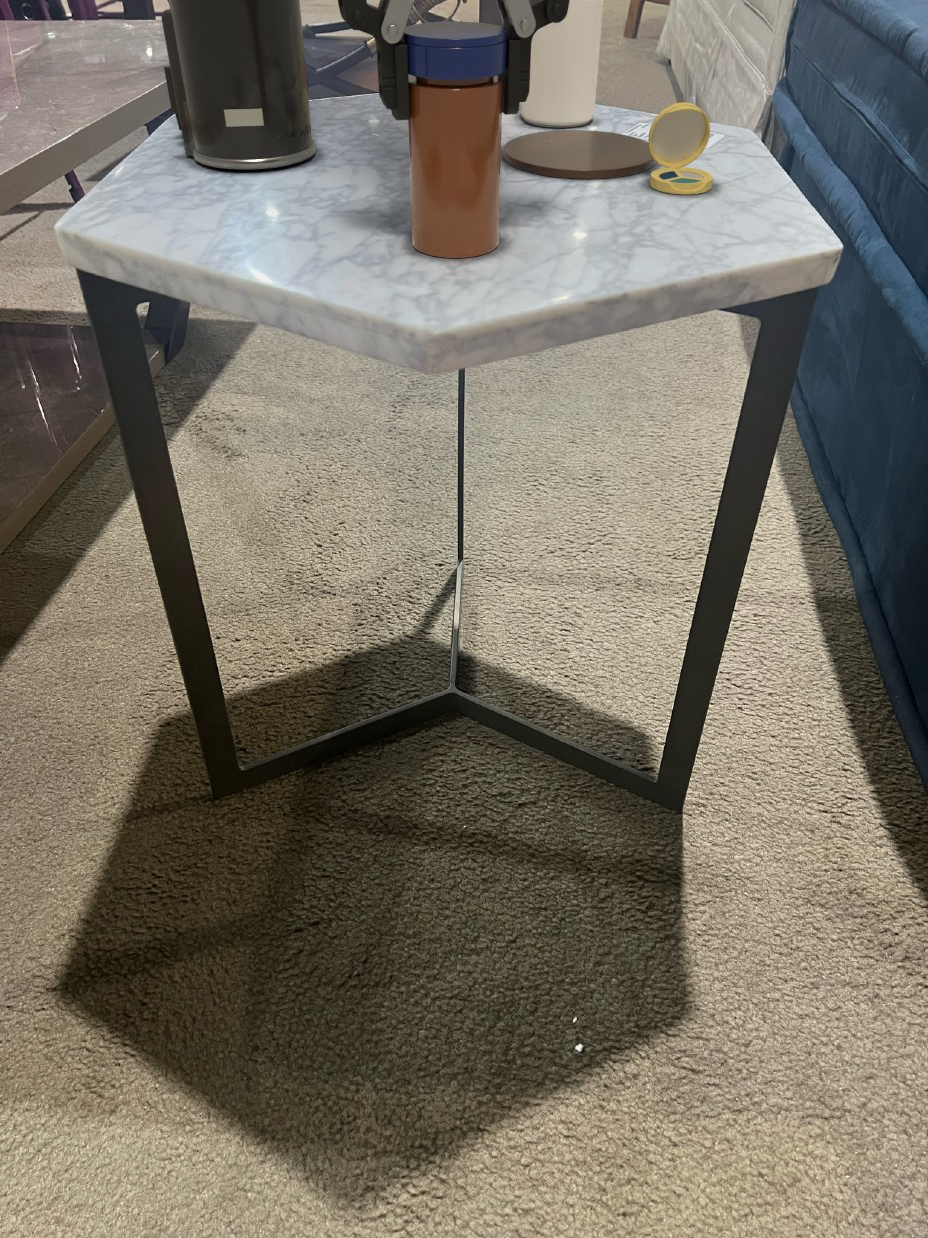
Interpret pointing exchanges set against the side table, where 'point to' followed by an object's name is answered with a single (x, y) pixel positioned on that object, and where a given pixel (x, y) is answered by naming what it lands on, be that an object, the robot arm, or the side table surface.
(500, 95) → the jar
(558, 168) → the coaster
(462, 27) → the jar lid
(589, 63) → the can
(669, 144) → the eyeshadow
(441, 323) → the side table surface
